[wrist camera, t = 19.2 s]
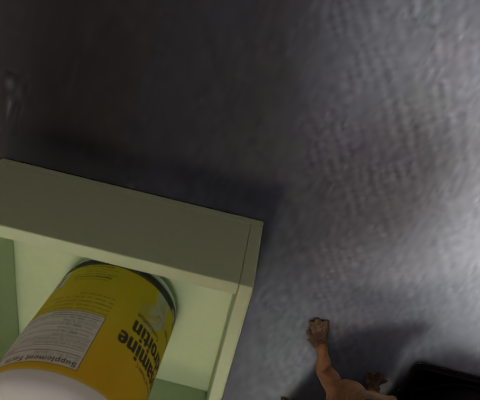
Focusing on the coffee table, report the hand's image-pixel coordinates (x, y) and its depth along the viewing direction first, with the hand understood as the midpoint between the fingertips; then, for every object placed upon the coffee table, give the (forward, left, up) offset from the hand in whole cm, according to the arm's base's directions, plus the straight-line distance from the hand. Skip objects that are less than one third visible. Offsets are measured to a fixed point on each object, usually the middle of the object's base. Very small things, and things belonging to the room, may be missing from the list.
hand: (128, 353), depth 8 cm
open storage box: (+4, +11, -13) cm, 17 cm away
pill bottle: (+4, +11, -13) cm, 17 cm away
